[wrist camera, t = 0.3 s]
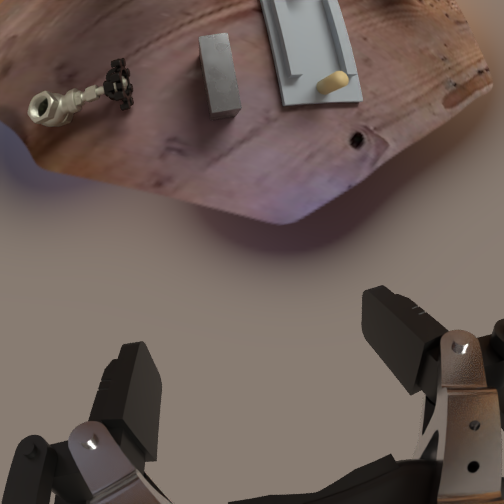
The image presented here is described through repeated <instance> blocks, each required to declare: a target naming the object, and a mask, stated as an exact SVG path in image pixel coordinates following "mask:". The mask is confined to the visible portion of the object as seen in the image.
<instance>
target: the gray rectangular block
mask: <svg viewBox="0 0 504 504" xmlns="http://www.w3.org/2000/svg"><path fill="white" fill-rule="evenodd" d="M199 57H200V63H201V69H202V75H203V80H204V86H205V92H206V97H207V103H208V109H209V114H210V120H211V121H212V120H218V119H223V118H229V117H235V116H236V115H237V114H238V112H239V111H240V110H241V108H242V107H241V102H240V96H239V91H238V85H237V80H236V75H235V70H234V64H233V59H232V54H231V49H230V44H229V38H228V33H222V34H214V35H208V36H201V37H199Z"/></svg>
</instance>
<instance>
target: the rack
mask: <svg viewBox="0 0 504 504" xmlns="http://www.w3.org/2000/svg"><path fill="white" fill-rule="evenodd" d="M260 3H261V7H262V11H263V15H264V19H265V23H266V28H267V32H268V36H269V41H270V45H271V50H272V54H273V59H274V64H275V68H276V73H277V78H278V83H279V88H280V93H281V99H282V104H283V106H291V105H304V104H319V103H344V102H362V101H363V98H362V93H361V88H360V83H359V78H358V74H357V69H356V65H355V61H354V56H353V52H352V48H351V45H350V41H349V37H348V34H347V30H346V27H345V23H344V20H343V16H342V13H341V10H340V7H339V4H338V1H337V0H260Z"/></svg>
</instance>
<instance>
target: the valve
mask: <svg viewBox="0 0 504 504" xmlns="http://www.w3.org/2000/svg"><path fill="white" fill-rule="evenodd" d="M125 66H126V63H125V59H124V58H121V59H116V60H113V61H111V67H112V69H111V70H110V71H108V73H107V75H106V81H104V83H103V86H101V87H98V86H97V85H94V86H91V87H88V88H86V89H85V92H82V91H79V90H78V89H77V88H74V89H72V90H69V91H68V92H67V93H66V95H64V96H63V95H61V94H58V93H51V92H48V91H43V92H41V93H39V94H37V95H35V96H34V97H33V98H32V100H31V102H30V105H29V109H28V115H29V116H30V118H31V119H32V121H33V122H34V123H37V124H42V125H44V126H47V127H54V126H56V127H60V126H63V125H65V124H68V123H70V122H71V121H72V118H73V115H74V113H75V112H78V111H80V110H81V109H82V105H84V104H85V101H87V102H92V101H95V100H98V99H99V98H100V95H102V94H105V95H106V96H107V97H108V96H109V98H110V99H111V100H116V101H119V100H122V101H123V102H124V104H122V105H120V108H121V110H122V111H124V110H127V109H130V108H131V106H132V105H133V104H134V101H133V98H132V97H131V92H133V86H132V84H130V82H129V76H130V71H129V69H128V68H127V69H126V68H125ZM113 67H115V68H113ZM114 72H115V73H114ZM112 73H113V74H112Z"/></svg>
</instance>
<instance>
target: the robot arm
mask: <svg viewBox="0 0 504 504" xmlns="http://www.w3.org/2000/svg"><path fill="white" fill-rule="evenodd" d="M362 296H363V297H362V332H363V334H364V337H365V339H366V341H367V342H368V343H369V344H370V345H371V347H372V348H373V349H374V350H375V352H376V353H377V354H378V355H379V357H380V358H381V359H382V360H383V361H384V363H385V364H386V365H387V366H388V368H389V369H390V370H391V371H392V372H393V374H394V375H395V376H396V378H397V379H398V380H399V381H400V383H401V384H402V385H403V386H404V388H405V389H406V390H407V392H408V393H409V394H410V395H413V394H415V393H417V392H419V391H421V390H422V391H423V392H424V393H425V394H424V398H423V404H422V414H421V422H420V430H419V438H418V442H417V446H416V449H415V452H414V455H413V458H412V459H409V460H400V461H395V460H394V458H393V456H392V455H391V454H389V455H387V456H385V457H383V458H381V459H378V460H377V461H374V462H372V463H369V464H367V465H364V466H362V467H360V468H357V469H355V470H353V471H352V472H350V473H349V474H347V475H346V476H344V477H342V478H341V479H339V480H338V481H336V482H334V483H333V484H331V485H329V486H327V487H326V488H324V489H322V490H321V491H318V492H316V493H306V494H289V495H268V496H262V497H257V498H252V499H246V500H240V501H234V502H228V504H504V477H501V475H502V473H501V472H502V439H501V428H502V429H503V431H504V319H501V320H499V321H497V323H496V324H495V326H494V329H493V332H492V334H491V335H487V336H483V337H479V338H476V337H475V336H474V335H473V334H472V333H470V332H468V331H464V330H452V331H448V330H447V329H446V328H445V327H443V326H442V325H441V324H440V323H439V322H438V321H436V320H435V319H434V318H433V317H431V316H430V315H429V314H428V313H425V311H424V310H423V309H422V308H420V307H418V305H416V304H415V303H414V302H413V301H411V300H410V299H409V298H407V297H404V296H402V295H399V294H394V293H393V292H391V291H390V290H389V289H388V288H386V287H385V286H383V285H381V286H378V287H375V288H372V289H368V290H365V291H364V292H363V295H362ZM101 381H102V382H100V385H99V388H98V389H99V391H97V394H96V397H95V400H94V404H93V407H92V410H91V414H90V417H89V420H88V422H84V423H82V424H80V425H78V426H77V427H76V428H75V429H74V430H73V431H72V432H71V434H70V436H69V439H68V441H64V442H60V443H56V444H51V445H49V444H48V443H47V442H46V441H45V440H44V439H43V438H42V437H41V436H39V435H31V436H28V437H26V438H24V439H23V440H22V441H21V442H20V443H19V444H18V446H17V449H16V451H15V455H14V458H13V461H12V464H11V468H10V471H9V475H8V479H7V483H6V487H5V491H4V495H3V499H2V504H49V502H50V495H51V491H52V492H53V493H55V494H56V495H55V503H54V504H174V503H173V502H172V501H171V500H170V499H169V498H168V497H167V496H166V494H165V493H164V492H163V491H162V490H161V489H160V488H159V487H158V486H157V484H156V483H155V482H154V481H153V480H152V479H151V477H150V476H149V475H148V474H147V473H146V472H145V471H144V467H145V462H149V461H157V444H158V429H159V415H160V404H161V394H162V382H161V378H160V374H159V372H158V370H157V368H156V366H155V364H154V362H153V359H152V358H151V355H150V353H149V351H148V349H147V346H146V344H145V343H144V342H143V341H141V342H135V343H128V344H123V345H122V347H121V350H120V353H119V356H118V359H114V360H112V361H111V362H110V364H109V365H108V366H107V367H106V369H105V370H104V373H103V376H102V379H101Z"/></svg>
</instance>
